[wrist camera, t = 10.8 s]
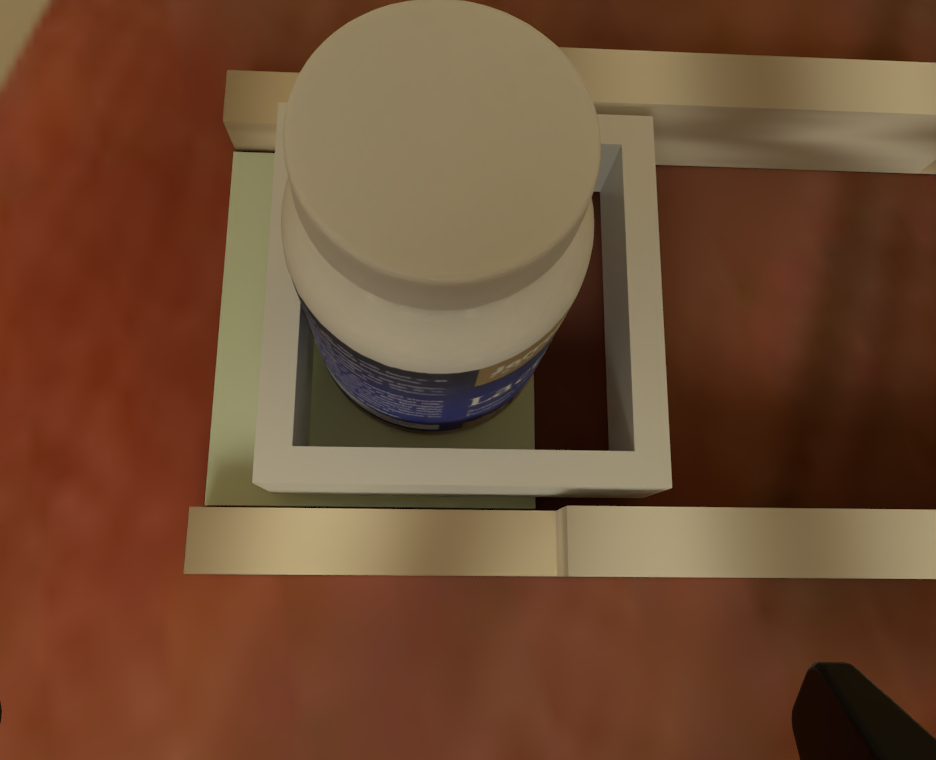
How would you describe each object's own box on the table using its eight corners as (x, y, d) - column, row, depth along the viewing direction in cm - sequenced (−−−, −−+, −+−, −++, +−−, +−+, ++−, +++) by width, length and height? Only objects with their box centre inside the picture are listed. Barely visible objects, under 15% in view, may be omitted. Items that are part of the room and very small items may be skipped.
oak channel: (1186, 137, 24) (1291, 77, 21) (1286, 581, 21) (1423, 582, 18) (239, 102, 23) (213, 33, 20) (201, 573, 20) (162, 574, 17)
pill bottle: (500, 471, 21) (570, 379, 11) (289, 397, 21) (173, 241, 11) (567, 271, 22) (682, 31, 12) (368, 203, 22) (327, -88, 12)
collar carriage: (627, 166, 22) (652, 116, 20) (642, 498, 20) (672, 488, 18) (294, 154, 22) (278, 102, 19) (273, 494, 20) (252, 482, 17)
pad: (530, 165, 23) (530, 161, 23) (534, 509, 21) (535, 508, 20) (234, 155, 22) (233, 151, 22) (206, 505, 20) (204, 505, 20)
